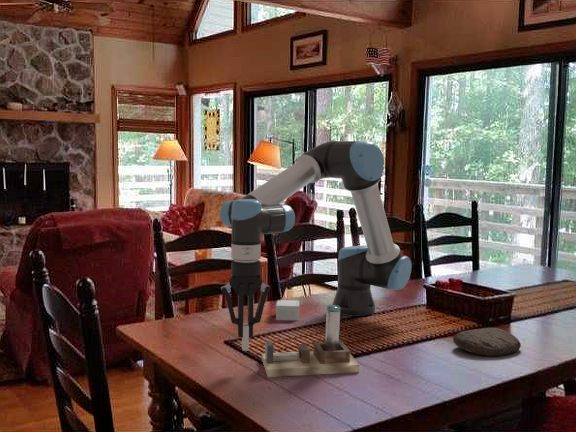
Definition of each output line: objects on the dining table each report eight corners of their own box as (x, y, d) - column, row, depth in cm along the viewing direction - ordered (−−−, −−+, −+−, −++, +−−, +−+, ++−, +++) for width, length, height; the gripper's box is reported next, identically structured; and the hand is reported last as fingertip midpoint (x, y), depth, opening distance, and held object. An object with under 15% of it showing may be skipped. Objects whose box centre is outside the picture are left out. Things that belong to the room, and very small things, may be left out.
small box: (298, 321, 203) (299, 306, 203) (275, 320, 203) (275, 305, 203) (299, 314, 211) (299, 300, 210) (276, 314, 211) (276, 299, 211)
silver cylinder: (336, 355, 164) (338, 304, 163) (339, 359, 161) (341, 308, 159) (323, 355, 164) (325, 304, 162) (326, 360, 160) (328, 308, 159)
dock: (346, 356, 170) (347, 337, 169) (359, 372, 158) (359, 352, 157) (261, 360, 165) (261, 341, 165) (267, 377, 154) (268, 356, 153)
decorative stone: (481, 363, 166) (482, 345, 165) (444, 347, 178) (445, 331, 178) (529, 351, 176) (530, 335, 175) (491, 338, 188) (491, 322, 187)
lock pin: (297, 356, 163) (297, 339, 162) (299, 361, 159) (299, 344, 158) (265, 358, 161) (265, 341, 161) (267, 362, 158) (267, 345, 157)
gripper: (221, 263, 150) (221, 355, 153) (273, 262, 153) (272, 352, 155) (219, 257, 158) (219, 345, 160) (269, 256, 160) (268, 343, 163)
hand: (245, 348), depth 158 cm, fingers closed
